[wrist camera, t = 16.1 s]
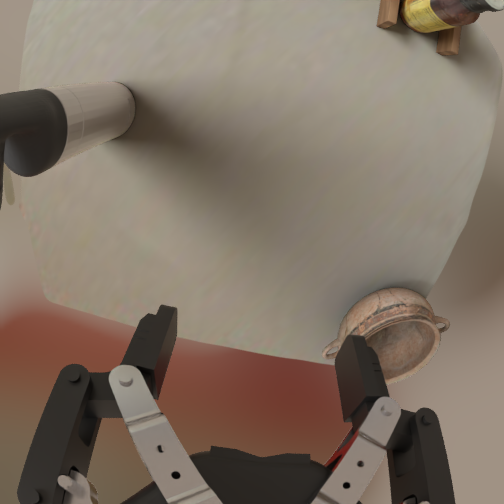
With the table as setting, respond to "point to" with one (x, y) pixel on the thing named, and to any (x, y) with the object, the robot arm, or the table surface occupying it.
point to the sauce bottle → (444, 13)
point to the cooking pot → (394, 331)
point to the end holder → (447, 37)
